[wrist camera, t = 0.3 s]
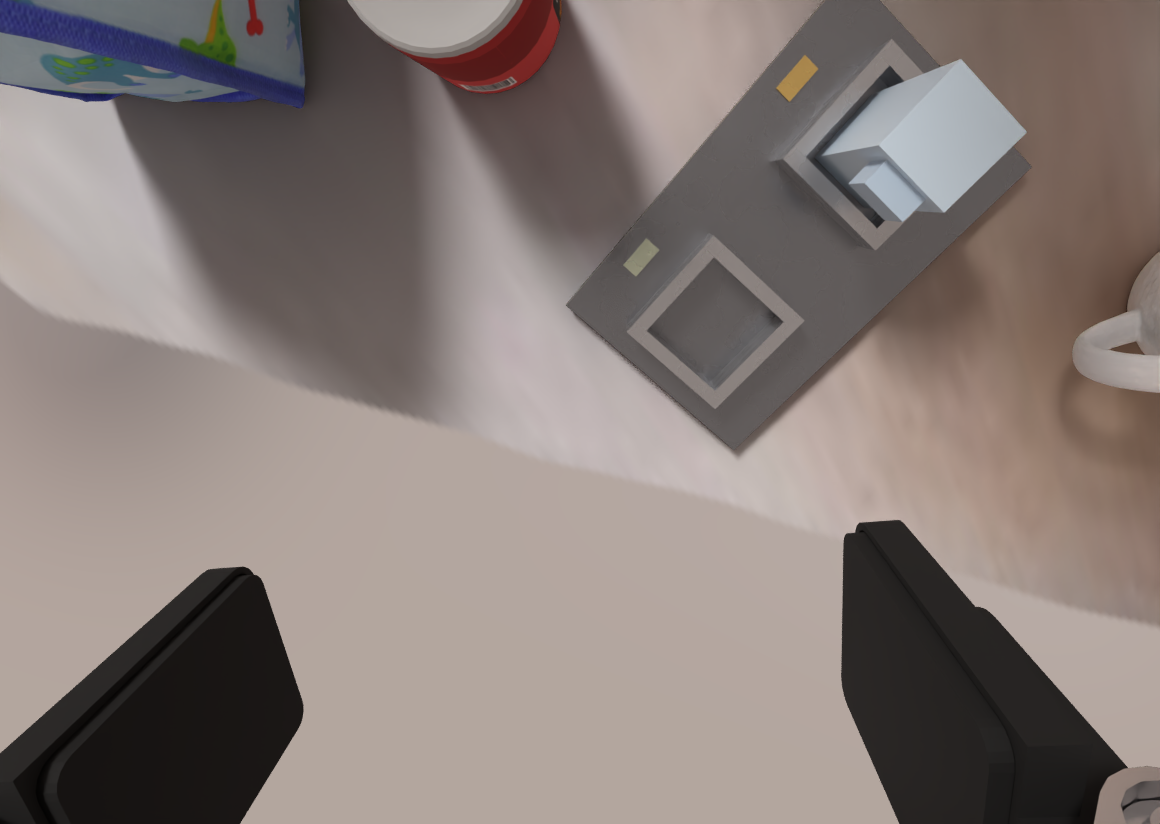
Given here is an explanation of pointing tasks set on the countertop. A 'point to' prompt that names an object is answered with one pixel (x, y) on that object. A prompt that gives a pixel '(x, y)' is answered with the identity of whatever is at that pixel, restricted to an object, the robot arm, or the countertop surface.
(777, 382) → the panel
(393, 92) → the countertop surface
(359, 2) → the canned food
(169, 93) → the lunch bag
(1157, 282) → the mug
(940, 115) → the plug
